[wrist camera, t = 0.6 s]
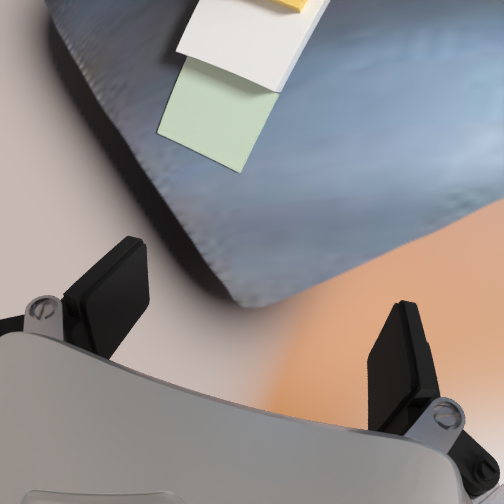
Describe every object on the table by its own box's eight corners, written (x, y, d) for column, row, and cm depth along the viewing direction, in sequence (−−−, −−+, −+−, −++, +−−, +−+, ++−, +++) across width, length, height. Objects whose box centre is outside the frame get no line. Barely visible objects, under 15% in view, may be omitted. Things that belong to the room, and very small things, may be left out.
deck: (245, -53, 25) (237, -65, 21) (341, -19, 25) (342, -31, 22) (189, 53, 33) (175, 51, 29) (280, 91, 33) (275, 92, 30)
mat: (188, 56, 33) (187, 55, 33) (279, 94, 33) (279, 94, 33) (158, 132, 39) (157, 132, 38) (240, 172, 39) (239, 173, 39)
